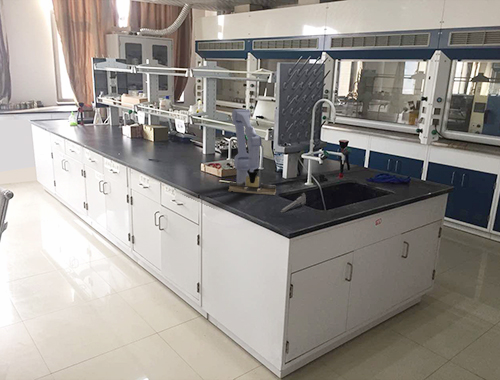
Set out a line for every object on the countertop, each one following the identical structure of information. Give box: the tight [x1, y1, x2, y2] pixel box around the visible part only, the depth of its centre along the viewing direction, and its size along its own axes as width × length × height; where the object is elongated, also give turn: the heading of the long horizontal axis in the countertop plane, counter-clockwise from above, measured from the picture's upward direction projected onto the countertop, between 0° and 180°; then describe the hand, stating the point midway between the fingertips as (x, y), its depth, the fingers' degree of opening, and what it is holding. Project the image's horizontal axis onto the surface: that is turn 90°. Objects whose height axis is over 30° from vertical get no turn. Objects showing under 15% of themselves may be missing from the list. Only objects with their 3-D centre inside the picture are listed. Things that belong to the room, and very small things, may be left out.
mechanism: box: [227, 181, 277, 196], centre depth 231 cm, size 7×26×5 cm, turn 81°
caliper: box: [280, 192, 307, 214], centre depth 205 cm, size 20×1×6 cm, turn 140°
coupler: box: [245, 175, 260, 187], centre depth 230 cm, size 4×7×5 cm, turn 82°
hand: (252, 182), depth 230 cm, fingers closed on coupler, 4 cm apart
